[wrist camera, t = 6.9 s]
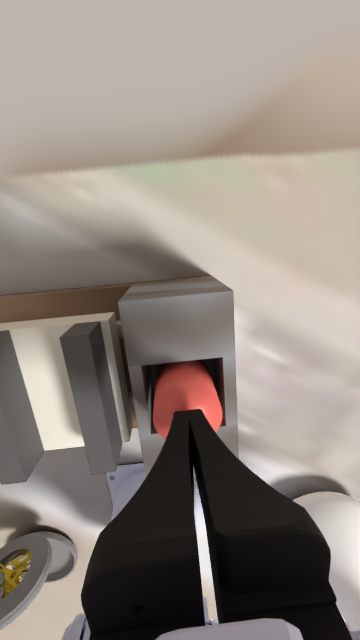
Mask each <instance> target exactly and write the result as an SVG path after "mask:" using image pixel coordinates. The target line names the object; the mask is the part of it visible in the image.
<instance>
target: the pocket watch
mask: <svg viewBox="0 0 360 640" xmlns="http://www.w3.org/2000/svg"><path fill="white" fill-rule="evenodd" d="M76 562H77V551H76V548H75V546H74V545H73V544H72V542H71V541H70V540H69V539H67V538H65V537H64V536H62V535H60V534H57V533H53V532H46V531H41V532H33V533H31V534H26V535H23V536H20V537H18V538H16V539H14V540H12V541H11V542H9V543H8V544H6V545H5V546H4V547H2V548H1V549H0V630H1V629H3V628H4V627H5V626H7V625H8V624H10V623H11V622H13V621H14V620H15V619H16V618H17V617H18V616H19V615H20V614H21V613H22V612H24V611H25V610H26V609H27V607H28V606H29V605H30V603H31V602H32V601H33V599H34V598H35V597H36V596H37V594H38V593H39V591H40V590H41V588H42V586H43V584H44V583H49V582H55V581H58V580H61V579H63V578H65V577H67V576H68V575H70V574H71V572H72V571H73V570H74V568H75V566H76ZM9 563H10V564H9ZM7 565H11V566H12V568H13V570H9V569H8V568H6V566H7ZM19 576H21V578H22V577H23V579H22V581H21V582H20V581H19V580H20V578H19ZM18 579H19V580H18Z"/></svg>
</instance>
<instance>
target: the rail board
mask: <svg viewBox="0 0 360 640" xmlns="http://www.w3.org/2000/svg"><path fill="white" fill-rule="evenodd" d="M110 312H115V318H116V324H117V330H118V336H119V342H120V348H121V354H122V360H123V366H124V372H125V378H126V384H127V390H128V396H129V402H130V408H131V414H132V420H133V425H132V428H137V427H138V430H139V437H140V443H141V449H142V455H143V462H144V468H145V474H146V477H147V475H148V473H149V472H150V470H151V468H152V467H153V465H154V463H155V461H156V459H157V458H158V455H159V453H160V451H161V449H162V447H163V445H164V442H165V439H164V438H163V437H162V436H161V435H160V434H159V433H158V432H157V430H156V428H155V426H154V422H153V409H154V396H155V384H156V374H157V371H158V368H159V367H160V365H161V364H162V363H171V362H181V361H190V360H200V359H201V360H202V361H204V363H205V364H206V365H207V367H208V369H209V372H210V375H211V378H212V381H213V384H214V387H215V390H216V393H217V396H218V399H219V402H220V404H221V408H222V421H221V424H220V427H219V428H218V430H217V431H216V433H217V435H218V436H219V437H220V439H221V440H222V441H223V442H224V444H225V445H226V446H227V447H228V448H229V449H230V451H231V452H232V453H233V454H234V455H235V456H236V457H237V458H238V428H237V396H236V363H235V331H234V299H233V290H231V289H230V288H229V287H227V286H226V285H224V284H223V283H221V282H220V281H218V280H217V279H216V278H214V277H213V276H211V275H210V276H199V277H189V278H178V279H168V280H157V281H147V282H137V283H126V284H116V285H105V286H95V287H85V288H74V289H64V290H53V291H43V292H33V293H22V294H12V295H1V296H0V323H8V322H18V321H29V320H39V319H49V318H59V317H69V316H79V315H89V314H100V313H110ZM193 471H194V466H193ZM194 478H196V476H195V471H194Z"/></svg>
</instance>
